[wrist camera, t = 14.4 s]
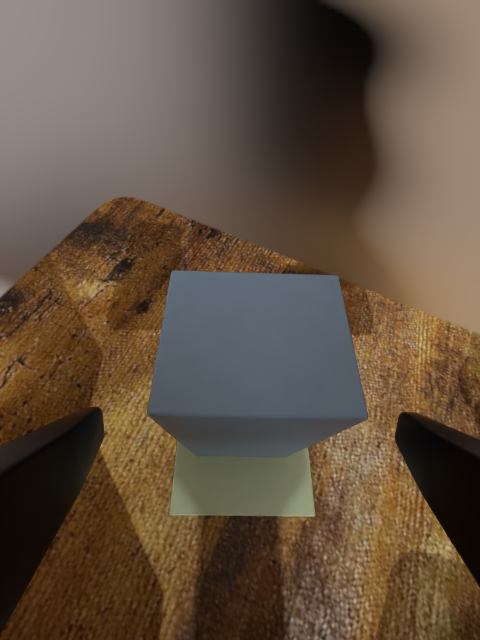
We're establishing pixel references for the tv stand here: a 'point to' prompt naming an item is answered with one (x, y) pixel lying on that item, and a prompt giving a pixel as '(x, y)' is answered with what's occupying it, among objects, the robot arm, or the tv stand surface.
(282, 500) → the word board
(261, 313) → the blue rectangular block
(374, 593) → the tv stand surface
